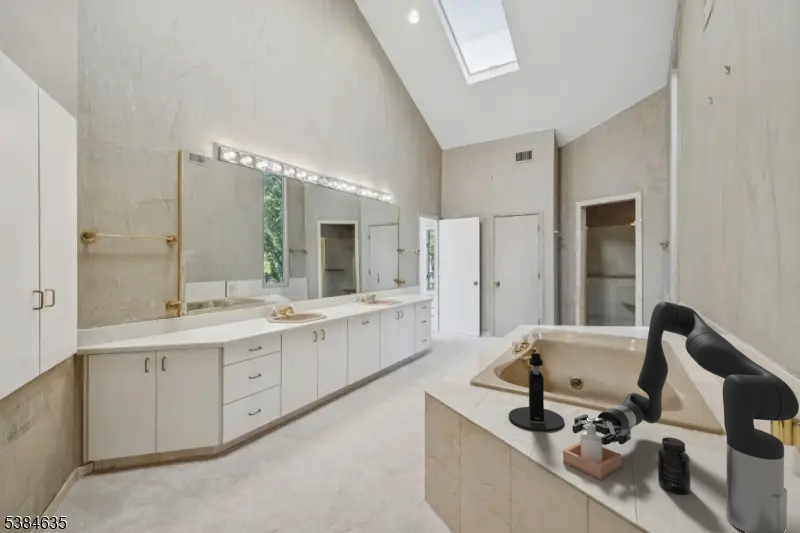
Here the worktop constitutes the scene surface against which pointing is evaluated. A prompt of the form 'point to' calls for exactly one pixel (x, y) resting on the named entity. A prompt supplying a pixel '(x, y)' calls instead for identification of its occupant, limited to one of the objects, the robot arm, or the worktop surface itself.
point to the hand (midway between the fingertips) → (588, 435)
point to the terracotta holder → (596, 470)
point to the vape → (536, 404)
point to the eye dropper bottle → (591, 444)
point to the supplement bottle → (674, 466)
